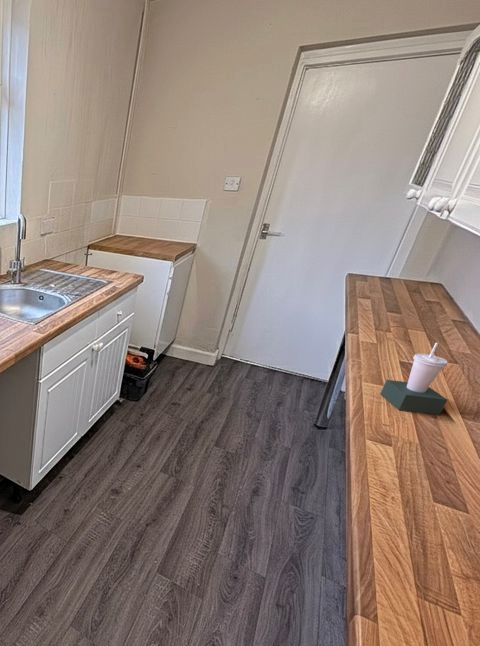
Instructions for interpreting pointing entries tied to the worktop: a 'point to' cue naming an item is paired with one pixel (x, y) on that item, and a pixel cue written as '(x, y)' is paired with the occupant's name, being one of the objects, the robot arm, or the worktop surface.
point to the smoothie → (425, 370)
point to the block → (412, 398)
